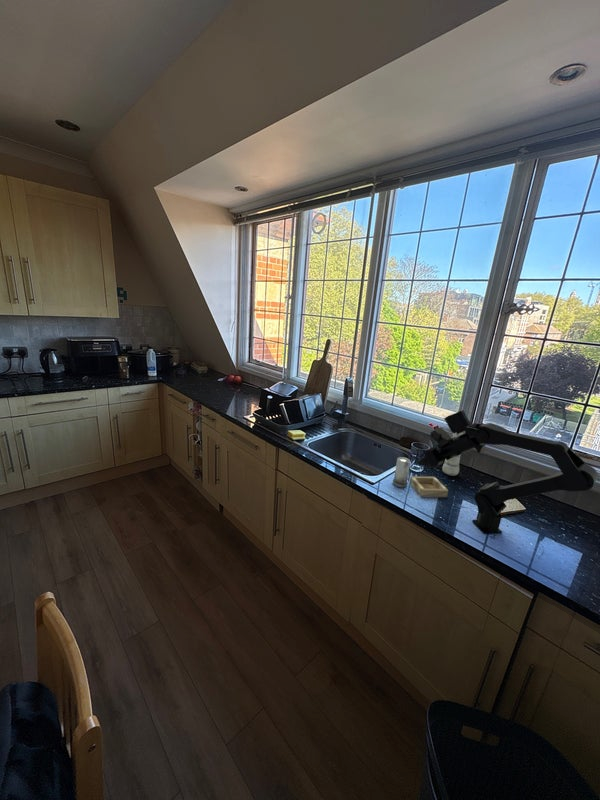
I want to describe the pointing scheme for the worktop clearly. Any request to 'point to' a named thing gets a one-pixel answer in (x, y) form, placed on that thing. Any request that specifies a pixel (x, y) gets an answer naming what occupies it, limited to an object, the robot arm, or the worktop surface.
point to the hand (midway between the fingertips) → (424, 460)
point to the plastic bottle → (452, 462)
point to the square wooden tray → (428, 486)
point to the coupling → (401, 472)
